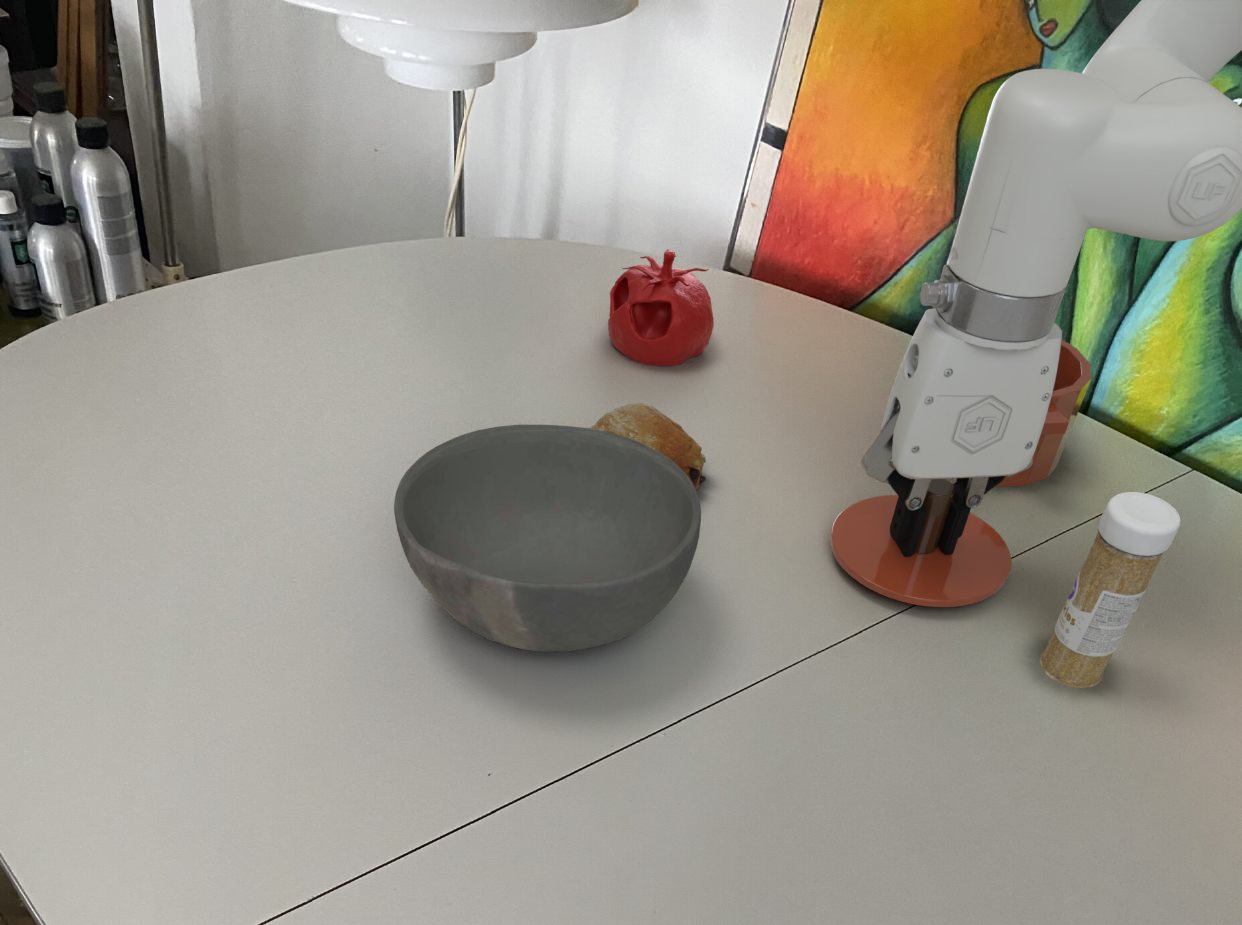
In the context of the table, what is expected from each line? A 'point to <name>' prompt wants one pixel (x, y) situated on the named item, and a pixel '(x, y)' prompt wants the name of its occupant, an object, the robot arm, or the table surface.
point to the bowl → (548, 533)
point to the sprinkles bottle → (1109, 587)
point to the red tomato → (660, 313)
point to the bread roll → (656, 436)
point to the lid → (920, 553)
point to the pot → (1057, 416)
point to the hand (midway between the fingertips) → (921, 543)
